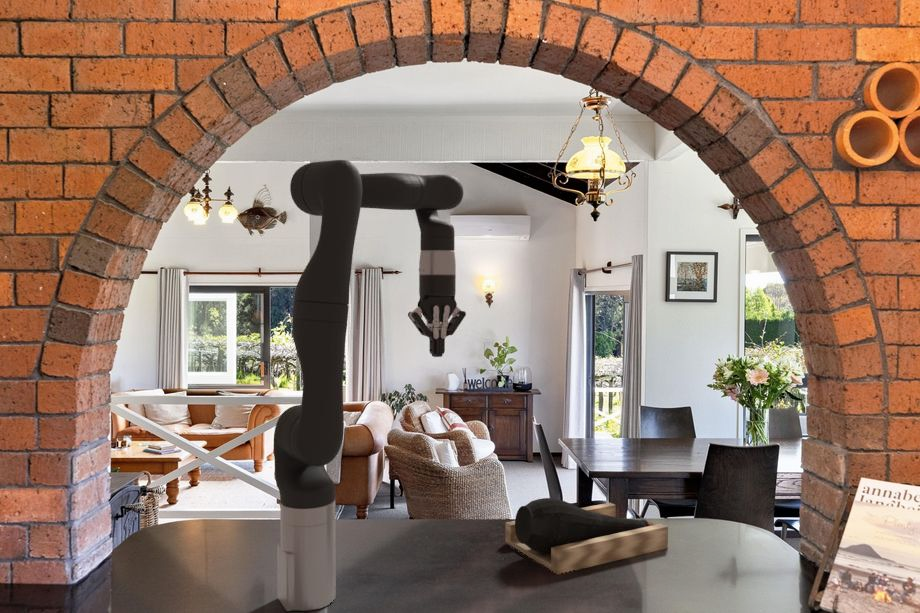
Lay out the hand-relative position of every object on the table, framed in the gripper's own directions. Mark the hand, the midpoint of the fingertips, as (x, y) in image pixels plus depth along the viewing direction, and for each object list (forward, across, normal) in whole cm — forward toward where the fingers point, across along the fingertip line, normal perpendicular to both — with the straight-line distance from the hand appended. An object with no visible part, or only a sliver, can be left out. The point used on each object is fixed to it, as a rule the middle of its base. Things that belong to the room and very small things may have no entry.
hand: (437, 356), depth 152 cm
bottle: (+32, +10, -18) cm, 38 cm away
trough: (+39, +26, -17) cm, 50 cm away
